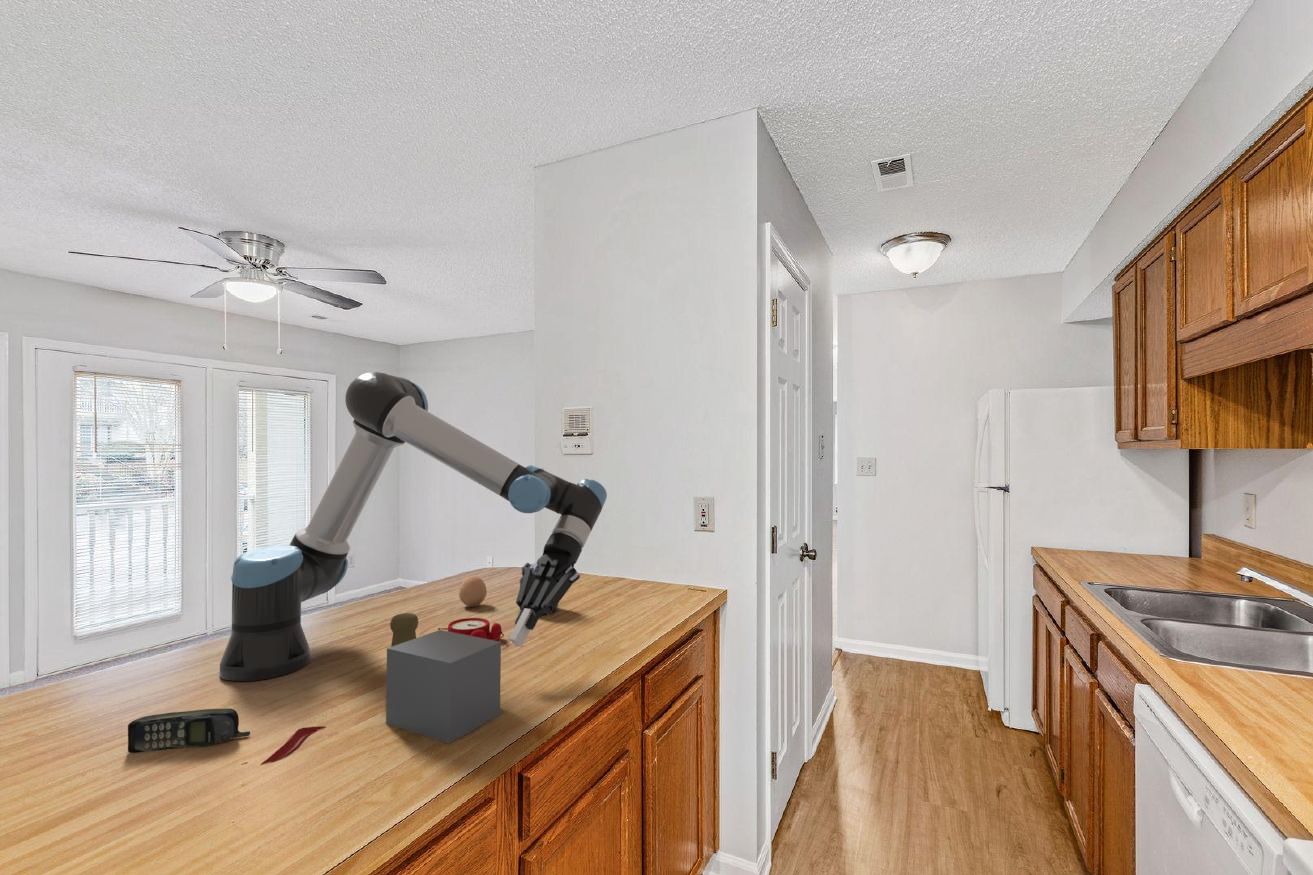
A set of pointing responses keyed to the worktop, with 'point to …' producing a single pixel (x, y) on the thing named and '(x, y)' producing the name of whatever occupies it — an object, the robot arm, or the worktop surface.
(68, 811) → the worktop surface
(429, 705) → the gray box
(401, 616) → the cork
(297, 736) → the cayenne pepper
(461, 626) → the alarm clock
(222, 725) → the mobile phone
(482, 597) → the egg
